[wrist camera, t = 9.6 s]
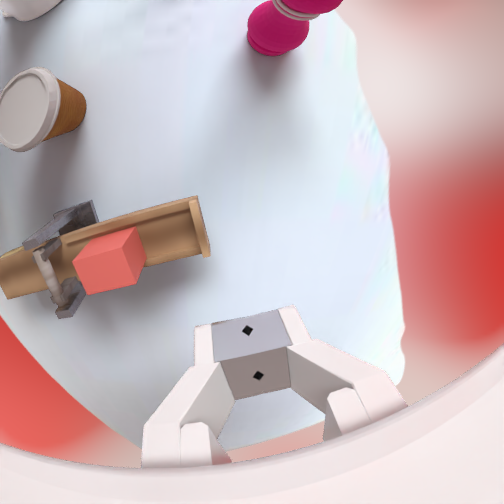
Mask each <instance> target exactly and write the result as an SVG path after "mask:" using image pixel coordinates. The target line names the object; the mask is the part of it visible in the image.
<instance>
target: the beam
mask: <svg viewBox="0 0 504 504" xmlns="http://www.w3.org/2000/svg"><path fill="white" fill-rule="evenodd" d="M135 226H136V228H137V231H138V234H139V237H140V240H141V243H142V246H143V248H144V251H145V254H146V257H147V259H146V261H145V263H144V266H143V267H147V266H152V265H156V264H160V263H164V262H168V261H173V260H177V259H181V258H185V257H190V256H194V255H198V254H202V255H203V258H205V257H209V256H210V244H209V240H208V236H207V232H206V228H205V224H204V220H203V216H202V212H201V208H200V204H199V200H198V196H197V195H196V196H192V197H188V198H184V199H180V200H176V201H172V202H169V203H165V204H161V205H157V206H154V207H150V208H146V209H143V210H139V211H136V212H132V213H129V214H126V215H122V216H119V217H116V218H112V219H109V220H106V221H103V222H99V223H96V224H93V225H90V226H87V227H84V228H81V229H78V230H75V231H72V232H69V233H66V234H63V235H61V236H58V237H55V238H52V239H49V240H47V241H44V242H43V243H42V244H41V245H40V246H38V247H35V248H33V249H30V250H27V251H25V249H24V247H23V246H21V247H18V248H16V249H13V250H11V251H9V252H6V253H5V254H3V255H2V256H1V257H0V286H1V288H2V290H3V292H4V294H5V296H6V297H7V299H12V298H15V297H19V296H23V295H27V294H31V293H35V292H39V291H42V290H46V289H49V290H50V292H51V294H52V297H51V300H52V301H53V303H56V304H57V305H58V307H61V306H63V305H65V304H66V303H67V302H68V299H67V297H68V296H69V294H70V293H71V291H72V290H73V288H74V287H75V285H76V284H77V283H78V281H81V280H80V278H79V276H78V274H77V272H76V270H75V267H74V265H73V263H72V261H73V260H74V259H75V258H76V256H77V255H78V254H79V253H80V252H81V251H82V250H83V248H84V247H85V246H86V245H87V244H88V243H89V242H90V241H91V240H92V239H94V238H97V237H101V236H104V235H107V234H111V233H114V232H117V231H121V230H124V229H128V228H131V227H135Z"/></svg>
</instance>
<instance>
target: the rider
mask: <svg viewBox="0 0 504 504" xmlns="http://www.w3.org/2000/svg"><path fill="white" fill-rule="evenodd" d="M146 259H147V257H146V254H145V251H144V248H143V246H142V243H141V240H140V237H139V234H138V231H137V228H136V226H135V227H131V228H128V229H124V230H121V231H117V232H114V233H111V234H107V235H104V236H101V237H97V238H94V239H92V240H91V241H90V242H89V243H88V244H87V245H86V246H85V247H84V248H83V250H82V251H81V252H80V253H79V254H78V255H77V256H76V258H75V259H74V260H73V261H72V263H73V265H74V267H75V270H76V272H77V274H78V276H79V278H80V280H81V283H82V285H83V287H84V289H85V291H86V293H87V295H91V294H95V293H99V292H104V291H108V290H112V289H117V288H121V287H125V286H130V285H134V284H136V283H137V281H138V278H139V276H140V273H141V271H142V268H143V266H144V263H145V261H146Z"/></svg>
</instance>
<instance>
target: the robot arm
mask: <svg viewBox="0 0 504 504" xmlns="http://www.w3.org/2000/svg"><path fill="white" fill-rule="evenodd" d="M60 1H61V0H0V9H1V10H2V11H3V13H2V15H3V16H5V17H12V16H13V17H15V18H16V19H17V20H19V21H29V20H32V19H35V18H37V17H39V16H41V15H43V14H44V13H46V12H48V11H49V10H50V9H52V8H53V7H54V6H56V5H57V4H58V3H59V2H60ZM290 387H291V389H293V390H294V391H295V392H296V393H298V394H299V395H300V396H302V397H303V398H304V399H305V400H307V401H308V402H309V403H311V404H312V405H313V406H315V407H316V408H317V409H319V410H320V411H322V412H323V413H324V414H326V416H325V425H324V433H323V440H324V442H321V443H317V444H314V445H311V446H308V447H304V448H300V449H297V450H293V451H289V452H285V453H281V454H277V455H272V456H268V457H263V458H257V459H252V460H246V461H241V462H234V463H232V461H231V459H230V457H229V456H228V455H227V453H226V452H225V450H224V449H223V447H222V446H221V445H220V443H219V442H218V440H217V439H218V437H219V435H220V433H221V431H222V429H223V427H224V424H225V422H226V420H227V418H228V416H229V414H230V412H231V410H232V408H233V405H234V403H235V400H238V399H242V398H247V397H251V396H255V395H259V394H263V393H268V392H273V391H277V390H282V389H286V388H290ZM0 504H504V344H502V345H501V346H500V347H499V348H497V349H496V350H495V351H494V352H493V353H491V354H490V355H489V356H487V357H486V358H485V359H483V360H482V361H481V362H479V363H478V364H477V365H475V366H474V367H473V368H471V369H470V370H468V371H467V372H465V373H464V374H463V375H461V376H460V377H458V378H457V379H455V380H454V381H452V382H451V383H449V384H447V385H445V386H444V387H442V388H441V389H439V390H437V391H436V392H434V393H432V394H430V395H429V396H427V397H426V398H424V399H422V400H420V401H418V402H416V403H414V404H412V405H411V406H408V405H407V404H406V402H405V401H404V399H403V397H402V396H401V394H400V393H399V391H398V390H397V388H396V386H395V385H394V383H393V382H392V380H391V379H390V377H389V376H388V374H387V373H386V371H384V370H382V369H380V368H378V367H375V366H373V365H371V364H369V363H367V362H365V361H363V360H360V359H358V358H356V357H354V356H352V355H350V354H348V353H346V352H343V351H341V350H339V349H337V348H335V347H333V346H331V345H329V344H327V343H325V342H323V341H321V340H319V339H313V340H312V339H311V337H310V335H309V333H308V331H307V329H306V327H305V325H304V323H303V321H302V319H301V317H300V315H299V313H298V311H297V309H296V307H295V306H294V305H290V306H286V307H282V308H278V309H277V310H272V311H268V312H264V313H260V314H256V315H251V316H247V317H242V318H237V319H231V320H226V321H221V322H215V323H212V324H205V325H200V326H195V329H194V366H193V367H189V368H188V369H187V371H186V372H185V373H184V375H183V376H182V377H181V378H180V380H179V381H178V382H177V384H176V385H175V386H174V388H173V389H172V390H171V391H170V393H169V394H168V395H167V397H166V398H165V399H164V401H163V402H162V403H161V404H160V406H159V407H158V408H157V410H156V411H155V412H154V413H153V415H152V416H151V417H150V418H149V420H148V421H147V422H146V424H145V425H144V431H143V444H142V460H141V468H125V467H111V466H101V465H93V464H85V463H78V462H73V461H67V460H62V459H56V458H52V457H48V456H43V455H39V454H35V453H31V452H28V451H25V450H21V449H18V448H15V447H12V446H8V445H6V444H3V443H0Z"/></svg>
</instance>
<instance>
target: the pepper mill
mask: <svg viewBox="0 0 504 504" xmlns="http://www.w3.org/2000/svg"><path fill="white" fill-rule="evenodd" d="M342 1H343V0H270V1H266V2H264V3H262V4H261V5H259V6H258V7H256V8H255V9H254V10H253V12H252V13H251V15H250V17H249V19H248V33H247V38H248V41H249V43H250V45H251V46H252V47H253V48H254V49H255V50H256V51H257V52H259V53H261V54H264V55H268V56H278V55H281V54H284V53H286V52H287V51H290V50H293V49H295V48H297V47H298V46H300V45H301V44H302V43H303V41H304V40H305V39H306V37H307V35H308V32H309V20H312V19H314V18H316V17H318V16H319V15H320V14H323V13H327V12H330V11H332V10H333V9H335V8H337V7H338V6H339V5H340V3H341V2H342Z"/></svg>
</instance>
